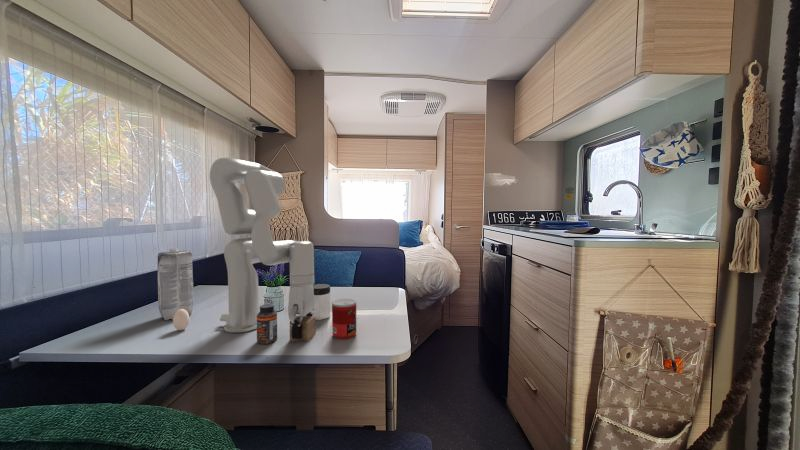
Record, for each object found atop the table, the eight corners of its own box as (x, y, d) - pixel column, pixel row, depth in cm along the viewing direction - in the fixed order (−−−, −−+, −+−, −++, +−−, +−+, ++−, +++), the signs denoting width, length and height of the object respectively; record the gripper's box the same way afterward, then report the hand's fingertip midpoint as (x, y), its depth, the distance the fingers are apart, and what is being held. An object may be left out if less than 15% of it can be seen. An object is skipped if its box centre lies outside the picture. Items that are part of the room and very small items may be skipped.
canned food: (351, 340, 95) (351, 305, 94) (328, 338, 96) (327, 304, 96) (359, 331, 102) (359, 299, 102) (337, 329, 104) (337, 298, 104)
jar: (314, 321, 112) (314, 289, 111) (304, 316, 118) (304, 286, 117) (335, 316, 118) (335, 285, 118) (324, 311, 124) (324, 282, 124)
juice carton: (195, 315, 120) (193, 248, 119) (161, 322, 112) (159, 250, 111) (189, 311, 126) (188, 246, 125) (157, 317, 118) (155, 249, 117)
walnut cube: (289, 340, 95) (289, 321, 95) (298, 333, 101) (298, 315, 101) (308, 341, 94) (307, 322, 94) (315, 334, 100) (315, 316, 100)
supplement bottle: (252, 343, 93) (251, 307, 92) (265, 336, 98) (265, 302, 98) (268, 345, 91) (268, 308, 91) (281, 338, 97) (280, 303, 97)
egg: (169, 332, 102) (169, 311, 102) (179, 327, 107) (179, 307, 107) (183, 332, 102) (183, 311, 102) (193, 327, 107) (192, 306, 107)
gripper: (302, 274, 106) (303, 323, 107) (277, 285, 89) (278, 343, 89) (323, 274, 105) (323, 323, 106) (301, 285, 88) (302, 344, 89)
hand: (303, 332), depth 98 cm, fingers open, 8 cm apart
